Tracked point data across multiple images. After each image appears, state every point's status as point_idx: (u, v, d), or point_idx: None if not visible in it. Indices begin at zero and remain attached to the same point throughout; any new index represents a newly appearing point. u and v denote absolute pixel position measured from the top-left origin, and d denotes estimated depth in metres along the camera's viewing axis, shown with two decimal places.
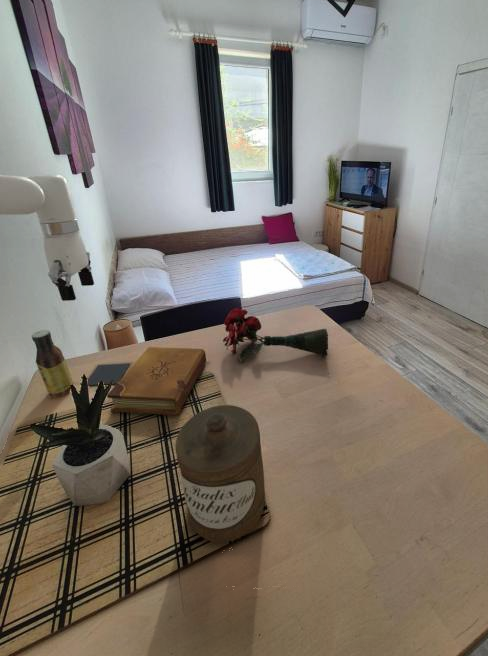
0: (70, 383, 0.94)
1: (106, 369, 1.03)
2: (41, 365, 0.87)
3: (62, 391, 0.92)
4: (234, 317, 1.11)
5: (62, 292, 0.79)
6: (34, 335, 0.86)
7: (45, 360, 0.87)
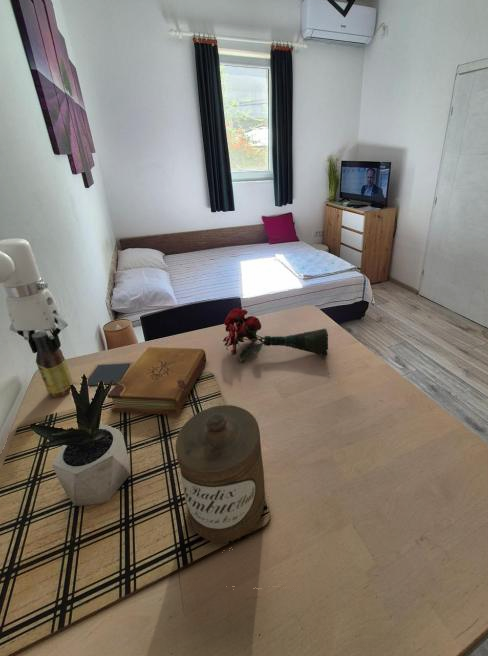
0: (70, 383, 0.94)
1: (106, 369, 1.03)
2: (41, 365, 0.87)
3: (62, 391, 0.92)
4: (234, 317, 1.11)
5: None
6: (34, 335, 0.86)
7: (45, 360, 0.87)
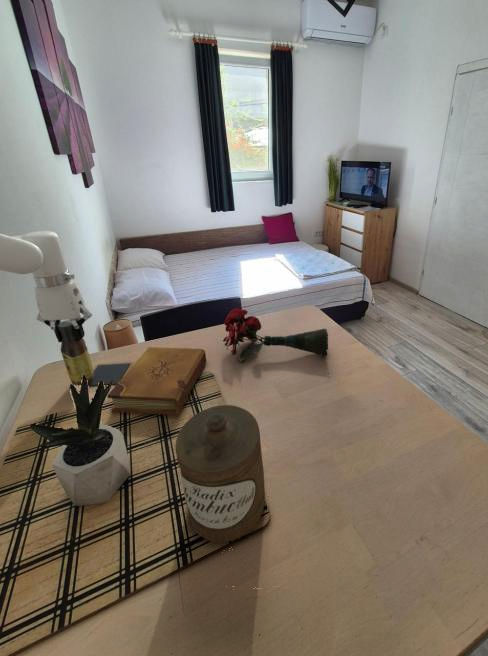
0: (92, 372, 0.97)
1: (106, 369, 1.03)
2: (66, 354, 0.90)
3: None
4: (234, 317, 1.11)
5: None
6: (60, 324, 0.89)
7: (70, 349, 0.90)
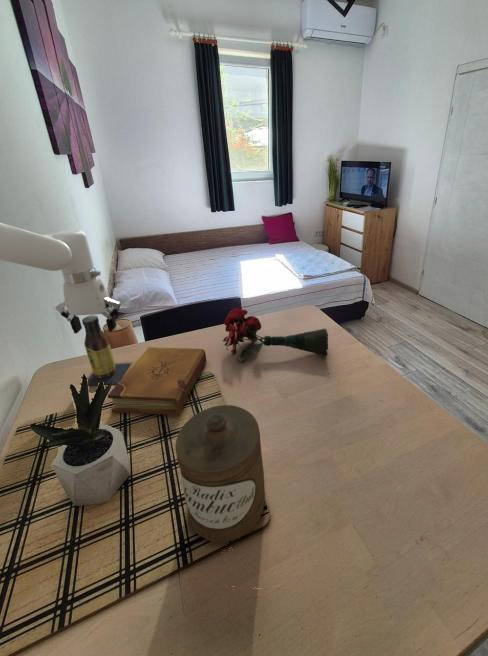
0: (113, 366, 1.01)
1: None
2: (90, 348, 0.94)
3: (107, 373, 0.99)
4: (234, 317, 1.11)
5: None
6: (84, 320, 0.92)
7: (94, 343, 0.94)
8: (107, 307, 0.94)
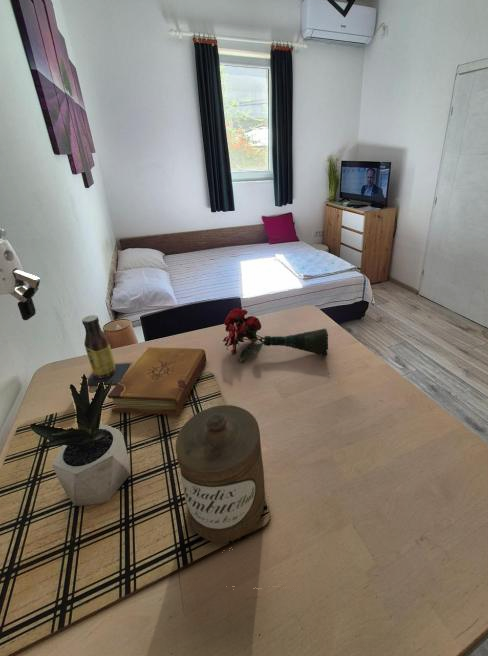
0: (114, 366, 1.01)
1: None
2: (90, 348, 0.94)
3: (107, 373, 0.99)
4: (234, 317, 1.11)
5: None
6: (84, 320, 0.92)
7: (94, 343, 0.94)
8: (20, 285, 0.65)
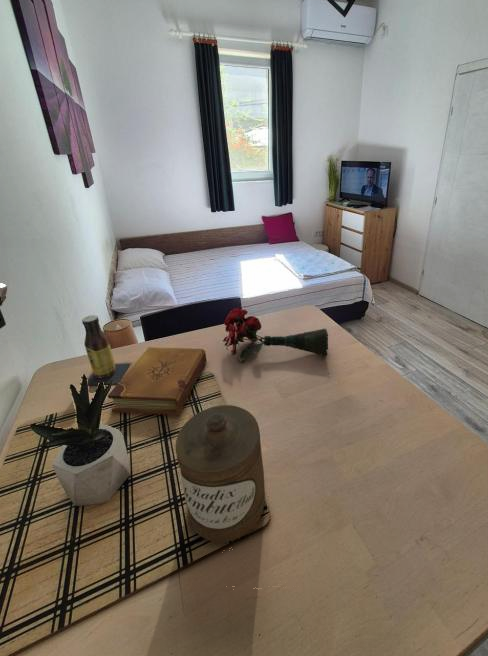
0: (114, 366, 1.01)
1: None
2: (90, 348, 0.94)
3: (107, 373, 0.99)
4: (234, 317, 1.11)
5: None
6: (84, 320, 0.92)
7: (94, 343, 0.94)
8: None
